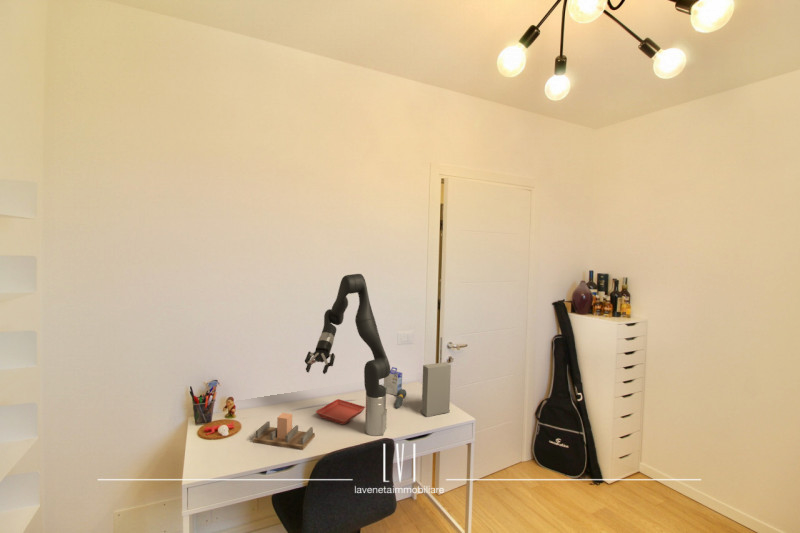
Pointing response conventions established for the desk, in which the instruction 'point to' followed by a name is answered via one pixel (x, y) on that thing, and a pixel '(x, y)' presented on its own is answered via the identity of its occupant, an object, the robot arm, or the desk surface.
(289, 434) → the walnut rack
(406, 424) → the desk surface
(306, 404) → the desk surface
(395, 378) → the ink cartridge box
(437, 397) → the tall grey upright block
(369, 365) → the robot arm
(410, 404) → the desk surface
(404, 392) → the flashlight
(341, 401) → the plant saucer
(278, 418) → the terracotta block
